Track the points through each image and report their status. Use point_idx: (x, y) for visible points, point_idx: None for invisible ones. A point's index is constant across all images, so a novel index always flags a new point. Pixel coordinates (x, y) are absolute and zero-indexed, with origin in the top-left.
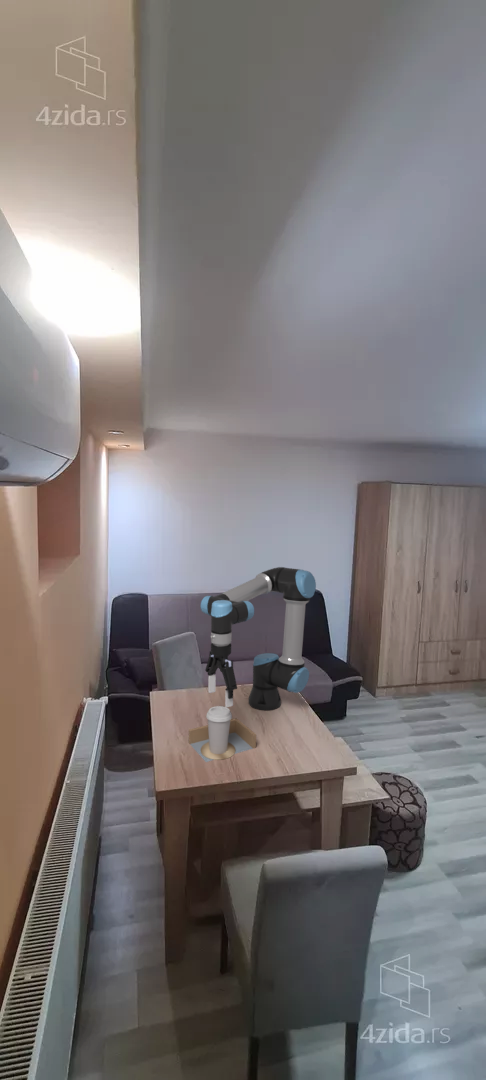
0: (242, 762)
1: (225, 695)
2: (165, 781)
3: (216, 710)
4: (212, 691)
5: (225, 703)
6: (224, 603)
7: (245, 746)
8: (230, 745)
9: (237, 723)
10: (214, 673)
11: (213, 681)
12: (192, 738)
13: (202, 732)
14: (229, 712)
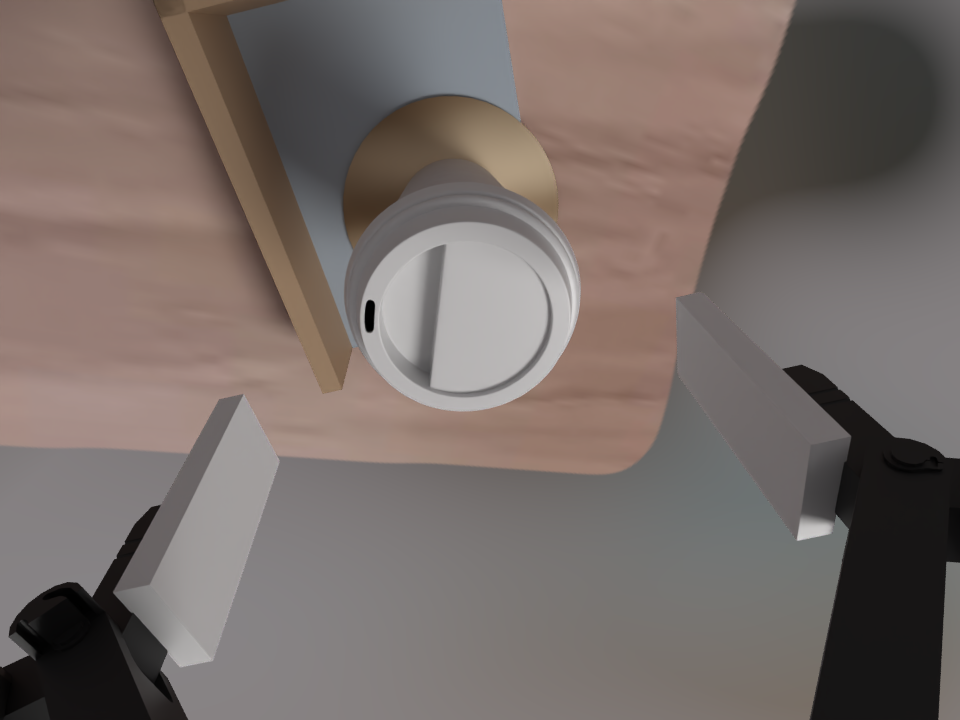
0: (603, 90)
1: (741, 462)
2: (608, 465)
3: (440, 341)
4: (260, 434)
5: (699, 396)
6: None
7: (452, 4)
8: (424, 120)
9: (233, 2)
10: (111, 623)
11: (209, 525)
12: (343, 349)
13: (317, 301)
14: (528, 238)
